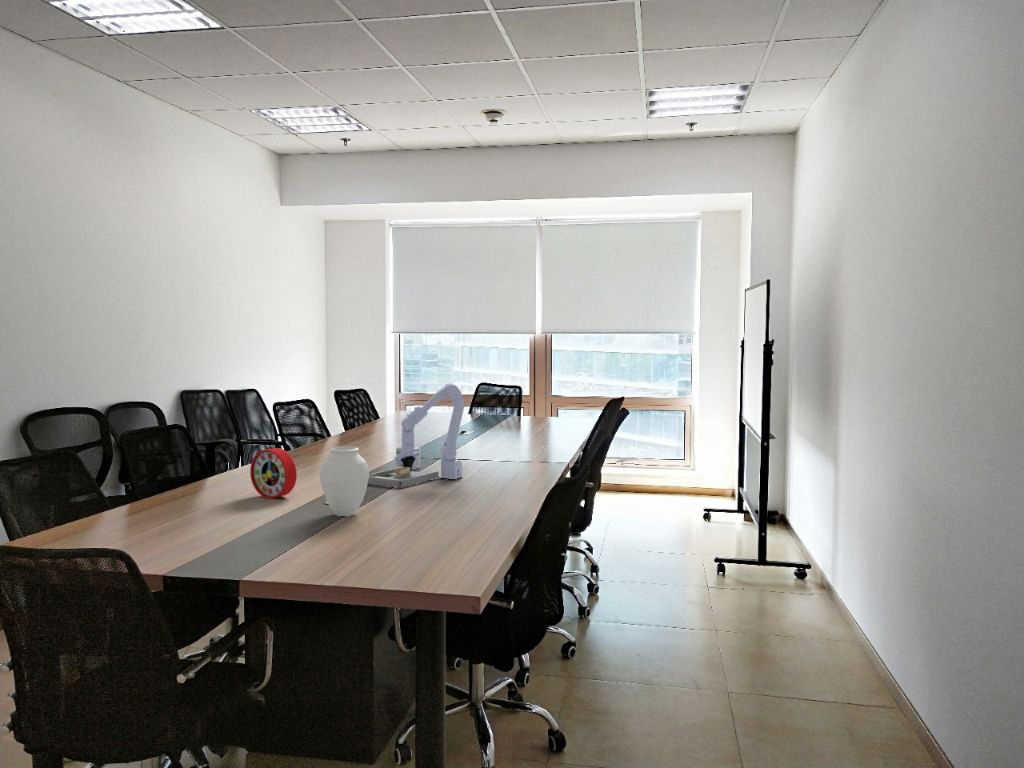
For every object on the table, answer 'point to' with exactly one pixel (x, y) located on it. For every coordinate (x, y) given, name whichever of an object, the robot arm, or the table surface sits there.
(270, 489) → the toy clock
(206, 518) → the table surface
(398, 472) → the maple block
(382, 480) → the grey tray
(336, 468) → the vase
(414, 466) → the light bulb box
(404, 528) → the table surface
